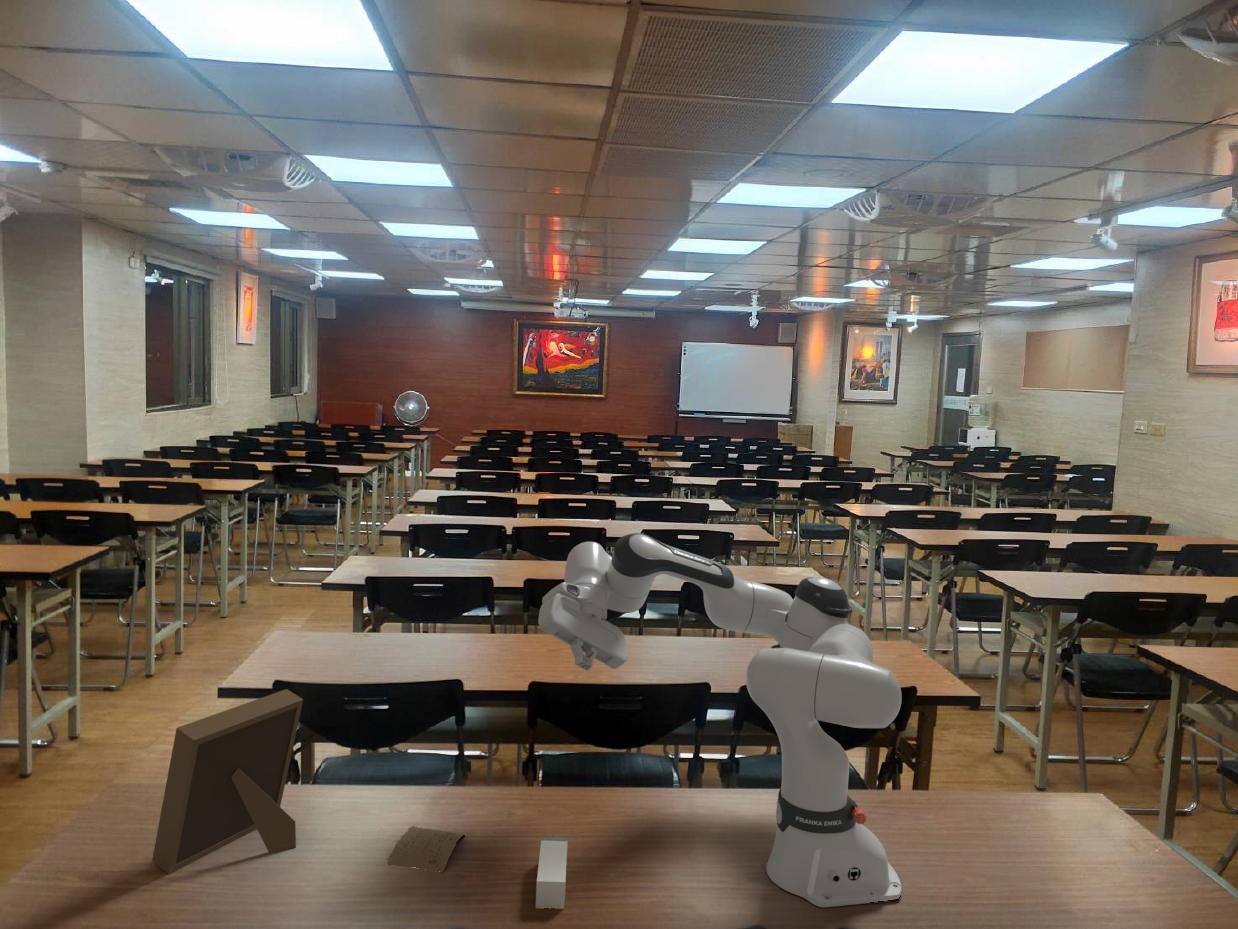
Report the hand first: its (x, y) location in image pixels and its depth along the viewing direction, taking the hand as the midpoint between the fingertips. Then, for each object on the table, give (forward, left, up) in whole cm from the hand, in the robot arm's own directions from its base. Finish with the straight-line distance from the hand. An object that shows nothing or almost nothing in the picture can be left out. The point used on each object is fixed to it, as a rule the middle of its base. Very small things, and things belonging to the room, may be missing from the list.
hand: (583, 666), depth 161 cm
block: (+4, +15, -28) cm, 32 cm away
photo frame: (+58, +14, -30) cm, 67 cm away
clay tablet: (+26, +12, -31) cm, 42 cm away
